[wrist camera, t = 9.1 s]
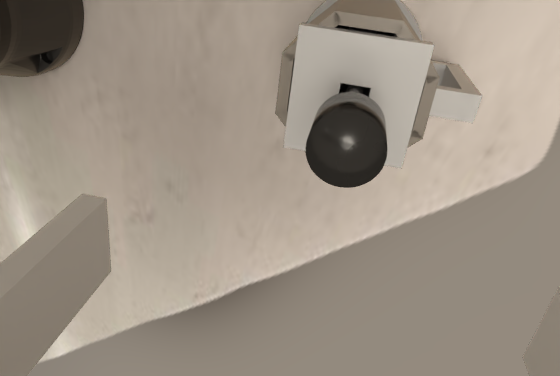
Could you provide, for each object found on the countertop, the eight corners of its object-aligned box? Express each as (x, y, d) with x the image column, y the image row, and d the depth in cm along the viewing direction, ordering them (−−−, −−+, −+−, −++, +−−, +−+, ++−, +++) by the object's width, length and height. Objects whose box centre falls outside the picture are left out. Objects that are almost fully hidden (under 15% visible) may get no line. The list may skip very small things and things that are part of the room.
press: (292, 101, 48) (259, 163, 34) (309, -21, 43) (277, -7, 29) (433, 124, 47) (459, 200, 33) (468, 2, 42) (517, 28, 27)
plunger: (308, 99, 43) (263, 203, 25) (321, 12, 39) (279, 61, 22) (391, 113, 42) (404, 230, 24) (412, 25, 39) (445, 88, 21)
